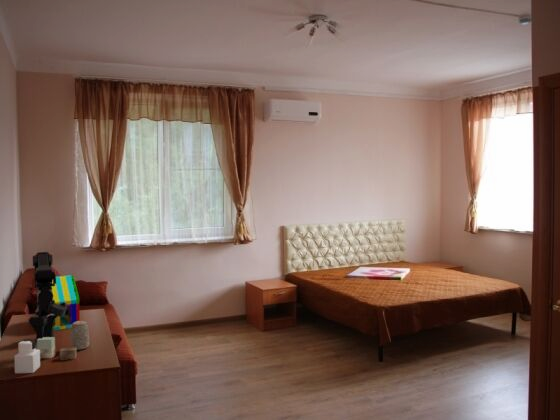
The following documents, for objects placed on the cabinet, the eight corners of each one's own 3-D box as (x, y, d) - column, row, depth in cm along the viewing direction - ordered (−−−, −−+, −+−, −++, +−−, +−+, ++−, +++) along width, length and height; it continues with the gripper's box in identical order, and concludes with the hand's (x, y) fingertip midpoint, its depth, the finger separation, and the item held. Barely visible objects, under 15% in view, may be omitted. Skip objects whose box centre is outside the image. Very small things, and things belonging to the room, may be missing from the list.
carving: (71, 347, 226) (70, 321, 225) (89, 345, 229) (88, 319, 228) (71, 351, 220) (70, 325, 220) (89, 349, 223) (89, 323, 223)
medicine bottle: (22, 367, 203) (21, 337, 202) (40, 366, 203) (39, 337, 202) (14, 373, 195) (13, 343, 195) (33, 373, 196) (32, 343, 195)
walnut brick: (60, 360, 210) (59, 351, 210) (61, 357, 214) (61, 348, 213) (75, 359, 212) (75, 350, 211) (76, 356, 215) (76, 347, 215)
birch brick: (37, 358, 213) (37, 349, 212) (41, 355, 216) (41, 346, 216) (51, 358, 213) (51, 349, 212) (55, 355, 216) (55, 346, 216)
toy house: (79, 326, 258) (78, 278, 257) (51, 331, 251) (50, 281, 249) (69, 316, 278) (68, 271, 277) (43, 319, 270) (41, 273, 269)
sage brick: (37, 349, 212) (36, 339, 212) (40, 346, 216) (40, 337, 216) (51, 349, 212) (51, 339, 212) (55, 346, 216) (54, 337, 216)
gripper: (55, 304, 204) (56, 341, 205) (72, 293, 222) (73, 328, 223) (27, 304, 203) (28, 342, 204) (46, 293, 222) (47, 328, 223)
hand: (45, 334), depth 214 cm, fingers open, 9 cm apart
